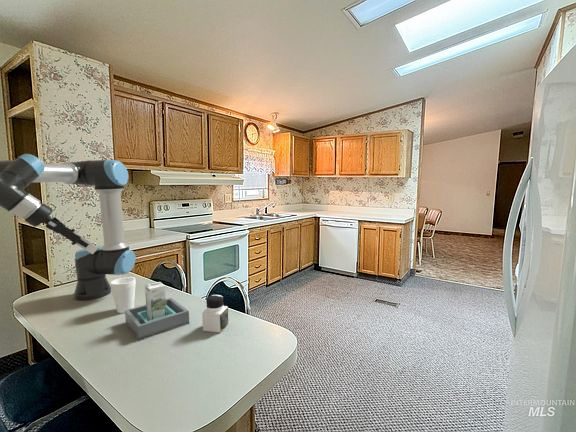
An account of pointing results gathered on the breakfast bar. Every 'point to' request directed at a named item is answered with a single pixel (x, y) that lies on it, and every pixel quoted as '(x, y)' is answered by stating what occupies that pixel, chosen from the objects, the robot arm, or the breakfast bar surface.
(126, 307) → the foam cup
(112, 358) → the breakfast bar surface
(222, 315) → the medicine bottle
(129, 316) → the walled box
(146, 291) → the syrup box
